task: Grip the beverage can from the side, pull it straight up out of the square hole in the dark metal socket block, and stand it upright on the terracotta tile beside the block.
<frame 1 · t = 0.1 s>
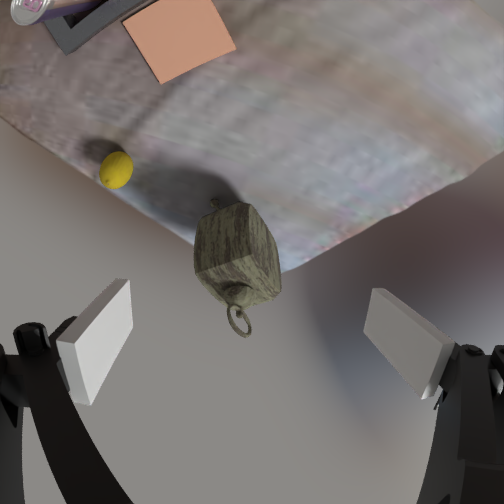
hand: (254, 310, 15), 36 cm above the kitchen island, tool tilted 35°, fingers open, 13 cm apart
tabletop clock: (241, 213, 58), on the kitchen island
lemon: (124, 156, 46), on the kitchen island
terracotta tile: (179, 32, 31), on the kitchen island
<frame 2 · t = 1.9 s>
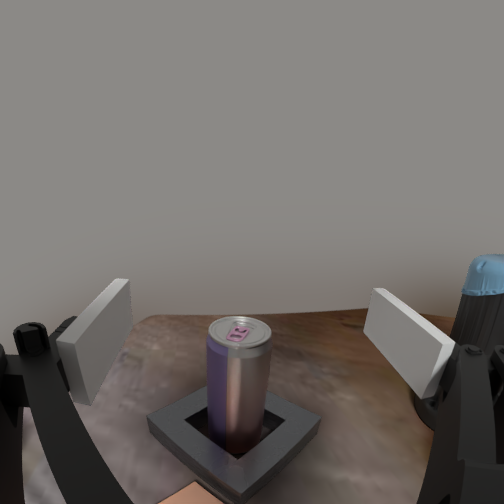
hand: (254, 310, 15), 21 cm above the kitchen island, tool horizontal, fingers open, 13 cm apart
beverage can: (234, 439, 30), resting in socket block
socket block: (234, 437, 29), on the kitchen island
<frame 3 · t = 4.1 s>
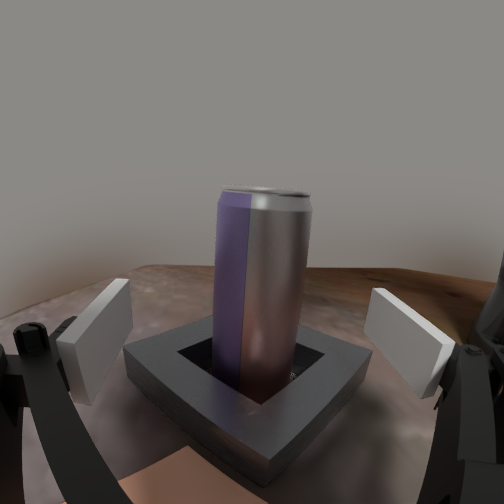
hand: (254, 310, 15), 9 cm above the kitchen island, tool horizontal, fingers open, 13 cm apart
beverage can: (249, 387, 22), resting in socket block
socket block: (250, 385, 22), on the kitchen island
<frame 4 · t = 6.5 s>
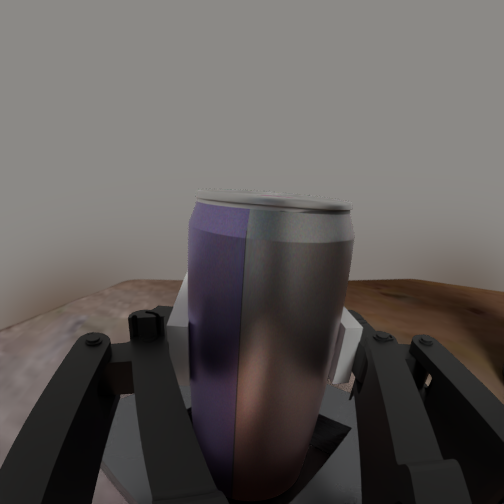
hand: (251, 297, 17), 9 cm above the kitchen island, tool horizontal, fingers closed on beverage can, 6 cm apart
beverage can: (248, 468, 14), resting in socket block, touching gripper
socket block: (248, 467, 14), on the kitchen island
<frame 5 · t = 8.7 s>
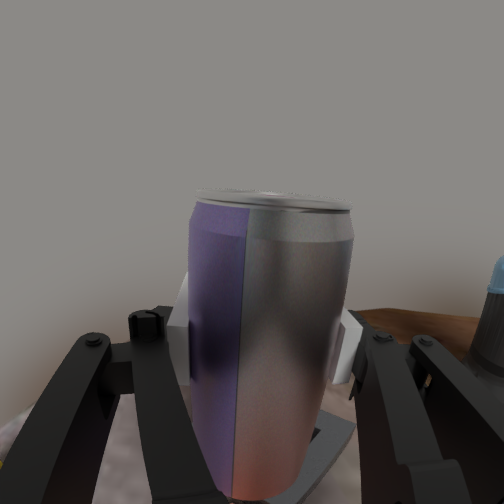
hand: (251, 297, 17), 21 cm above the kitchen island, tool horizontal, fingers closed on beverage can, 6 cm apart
beverage can: (248, 468, 14), point 12 cm above the kitchen island, touching gripper
socket block: (266, 451, 27), on the kitchen island
when the fingers open (11 cm above the kitchen island, at t = 11.1 s): beverage can drops 1 cm, resting on terracotta tile.
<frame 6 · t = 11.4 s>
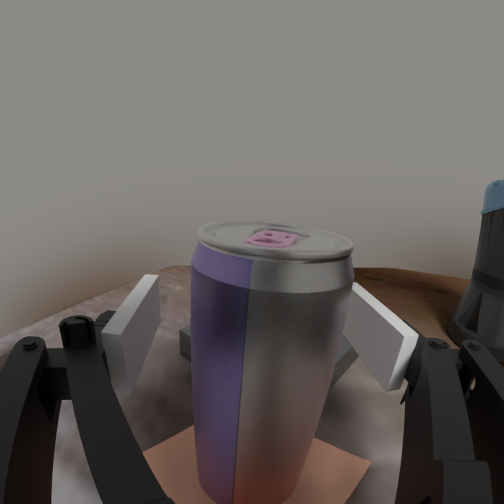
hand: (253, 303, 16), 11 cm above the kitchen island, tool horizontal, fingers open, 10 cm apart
beverage can: (247, 480, 14), resting on terracotta tile
socket block: (275, 357, 30), on the kitchen island
terracotta tile: (246, 482, 14), on the kitchen island
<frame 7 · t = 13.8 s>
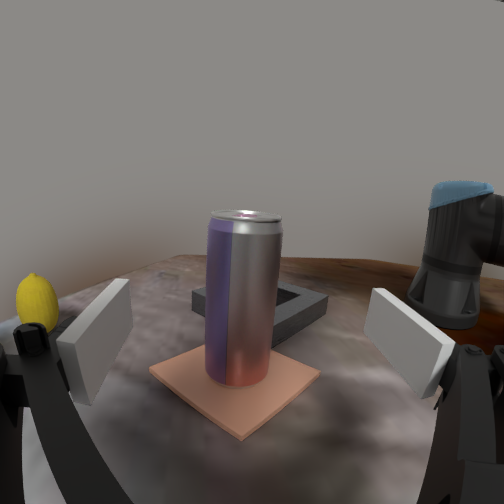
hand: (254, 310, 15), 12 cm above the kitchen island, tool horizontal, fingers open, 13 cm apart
beverage can: (236, 374, 27), resting on terracotta tile
socket block: (260, 313, 43), on the kitchen island
lemon: (43, 337, 28), on the kitchen island
terracotta tile: (235, 377, 27), on the kitchen island
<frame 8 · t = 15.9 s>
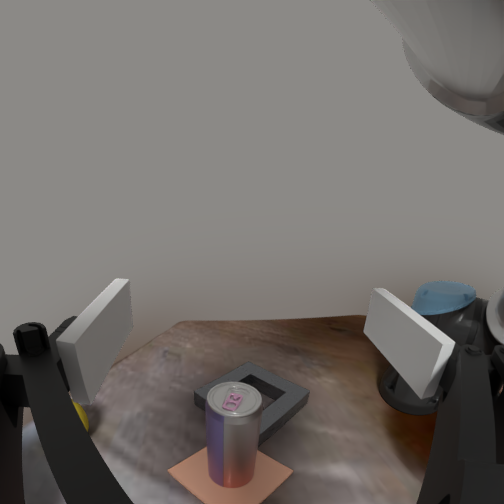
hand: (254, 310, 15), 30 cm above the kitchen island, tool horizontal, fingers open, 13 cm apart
beverage can: (231, 474, 31), resting on terracotta tile
socket block: (252, 405, 47), on the kitchen island
lemon: (78, 437, 32), on the kitchen island
terracotta tile: (230, 475, 31), on the kitchen island
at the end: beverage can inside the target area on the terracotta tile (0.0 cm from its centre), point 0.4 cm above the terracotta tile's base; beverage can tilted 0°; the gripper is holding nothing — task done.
